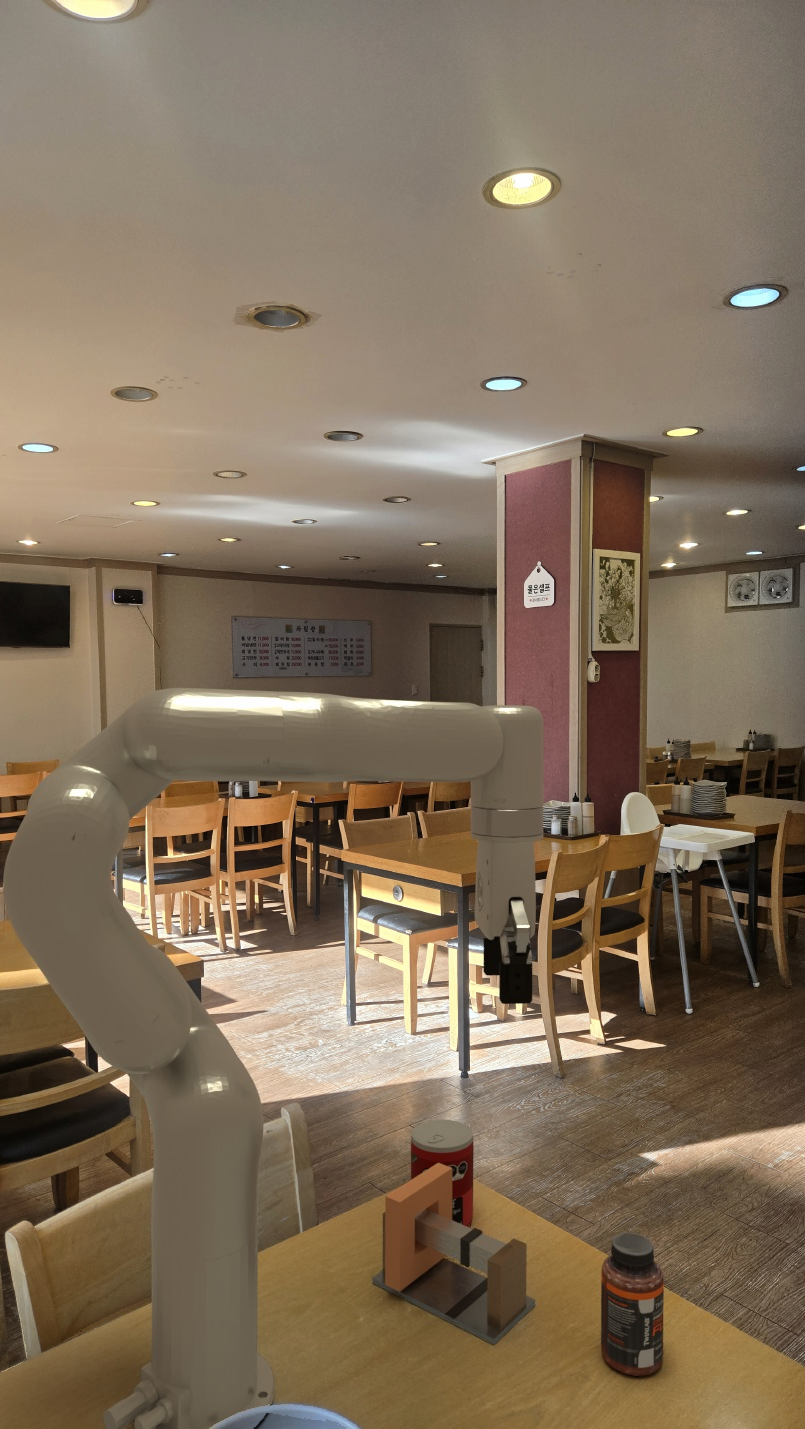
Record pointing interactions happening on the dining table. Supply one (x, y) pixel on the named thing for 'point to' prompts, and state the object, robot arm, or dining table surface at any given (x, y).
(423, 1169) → the canned food
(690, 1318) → the dining table surface
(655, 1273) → the supplement bottle
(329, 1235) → the dining table surface
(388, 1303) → the dining table surface
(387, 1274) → the collar
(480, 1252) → the stand
